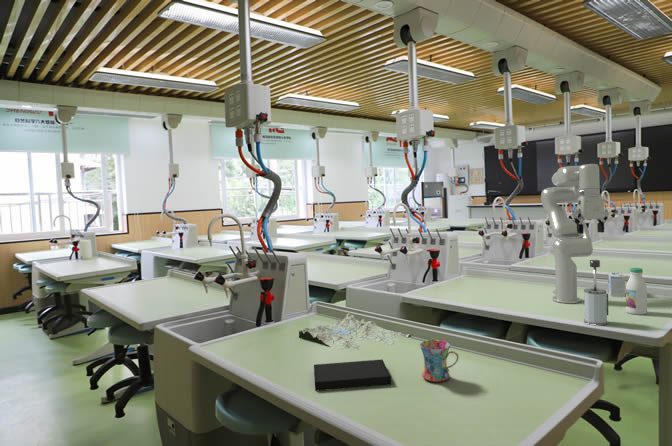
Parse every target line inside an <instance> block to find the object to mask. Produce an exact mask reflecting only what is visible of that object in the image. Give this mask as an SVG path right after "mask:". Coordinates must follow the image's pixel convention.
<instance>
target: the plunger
mask: <svg viewBox="0 0 672 446" xmlns="http://www.w3.org/2000/svg"><path fill="white" fill-rule="evenodd" d="M589 267H590V268H593V288H594V291H597V283H598V282H597V268H600V267H601V260H600V259H590V260H589Z"/></svg>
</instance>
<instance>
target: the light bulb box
mask: <svg viewBox="0 0 672 446" xmlns="http://www.w3.org/2000/svg"><path fill="white" fill-rule="evenodd" d="M607 294H608V296H610V297H613V298H615V297H617V298H618V297H619V298H626V275H625V274H624V273H623V272H607Z"/></svg>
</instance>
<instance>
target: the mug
mask: <svg viewBox="0 0 672 446" xmlns="http://www.w3.org/2000/svg"><path fill="white" fill-rule="evenodd" d="M419 347H420V350H421V352H422V357H423V360H424V361H423V362H424V366H423V370H422V374H421V377H422V378H423V379H425V380H427V381H430V382H439V383H440V382H445V381H447V380H448V379H449V378H450V377H451V375H450V373H449V372H450V370H449V369H450V368H452V367H454V366H455V365H456V364H457V363H458V361H459V358H460V357H459V354H458V353H457V352H456V351H452V350H451V351H449V350H450V348H451V344H450V343H449V342H447V341H446V340H441V339H428V340H423V341H421V342H420V343H419ZM449 354H454V355H455V356H456V360H455V362H454V363H453V364H452V365H449V366H447V364H448V363H447V359H448V357H449Z"/></svg>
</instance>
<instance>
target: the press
mask: <svg viewBox="0 0 672 446" xmlns="http://www.w3.org/2000/svg"><path fill="white" fill-rule="evenodd" d="M583 292H584V293H583V294H584V295H583V299H584V300H583V302H584V303H583V304H584V305H583V306H584V310H583V312H584V319H583V323H584V324H586V323H589V324H588V325H590V324H596V325H603V326H607V325H608V316H609V293H608V292H607V290H606V289H603V288H597V291H594V287H593V288H591V287H589V288H584V289H583ZM596 325H595V326H596Z"/></svg>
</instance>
